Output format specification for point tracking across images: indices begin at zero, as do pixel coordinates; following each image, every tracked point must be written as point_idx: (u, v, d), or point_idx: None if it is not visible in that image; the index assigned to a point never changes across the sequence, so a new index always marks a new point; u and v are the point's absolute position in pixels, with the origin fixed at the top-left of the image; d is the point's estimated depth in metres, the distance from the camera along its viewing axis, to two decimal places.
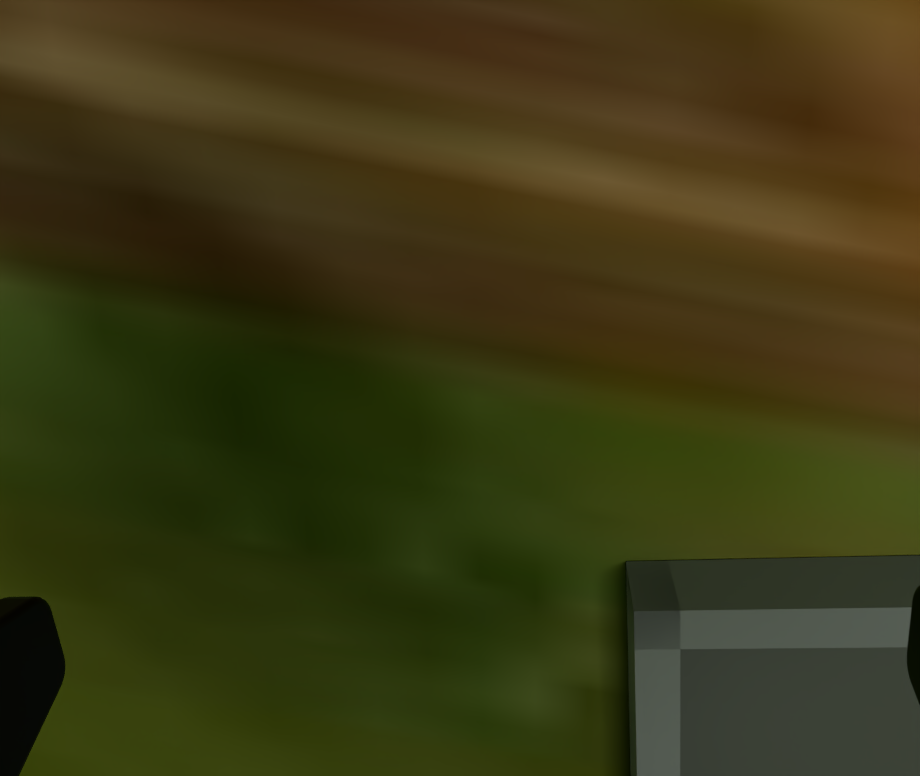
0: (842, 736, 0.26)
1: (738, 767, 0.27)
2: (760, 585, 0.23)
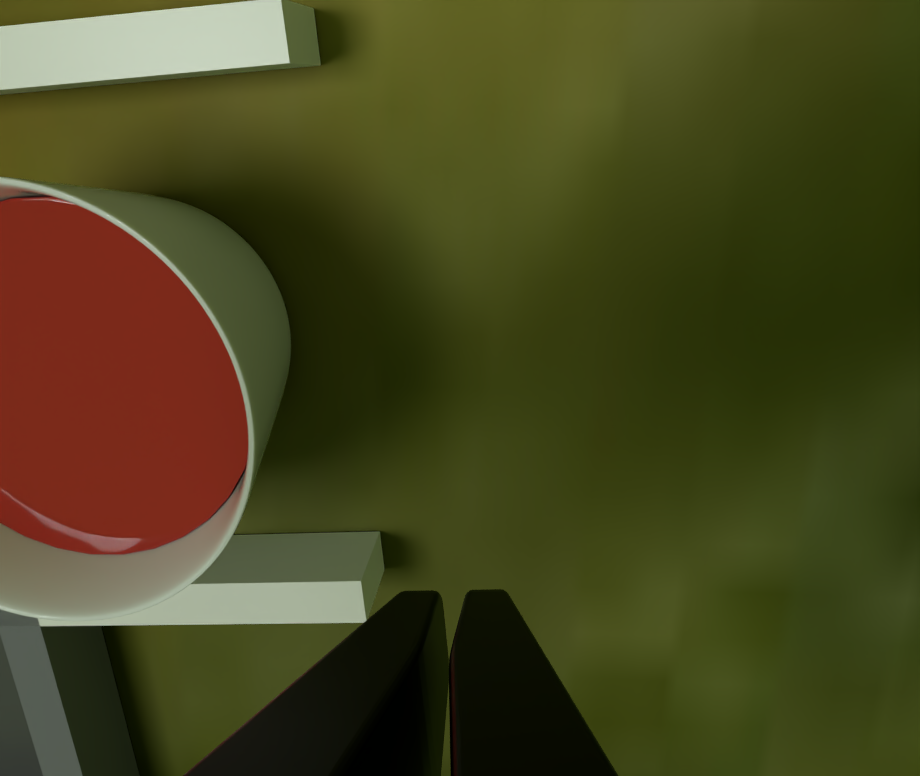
0: None
1: None
2: None
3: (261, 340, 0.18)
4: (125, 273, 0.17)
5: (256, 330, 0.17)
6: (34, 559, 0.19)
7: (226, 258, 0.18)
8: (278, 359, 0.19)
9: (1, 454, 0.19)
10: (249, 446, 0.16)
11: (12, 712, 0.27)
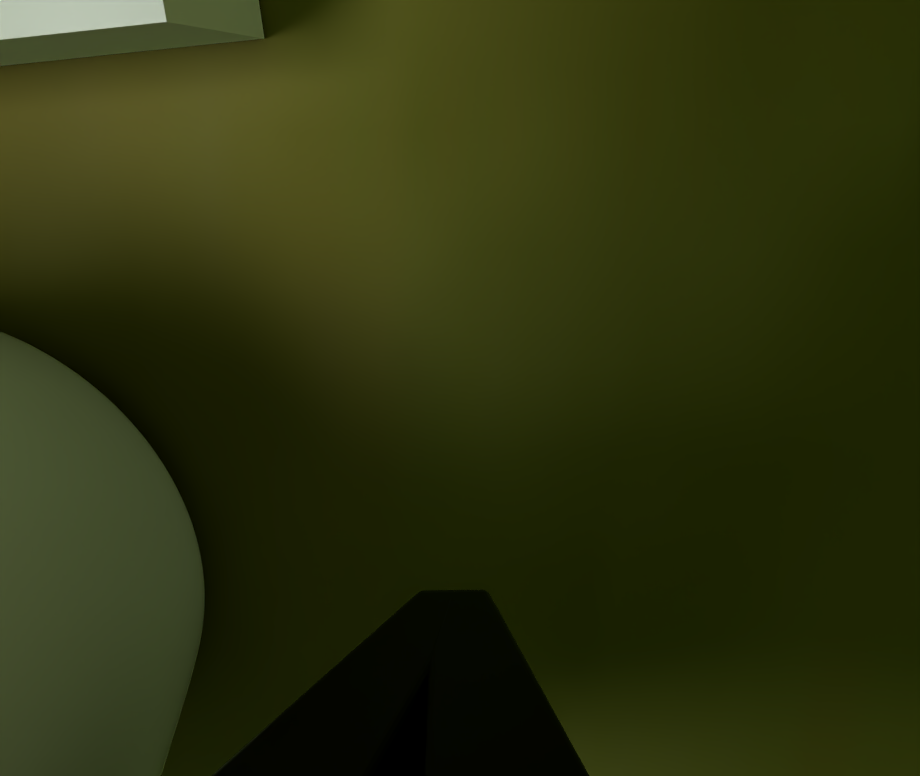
0: None
1: None
2: None
3: (80, 715, 0.07)
4: None
5: (62, 698, 0.07)
6: None
7: (3, 495, 0.07)
8: (150, 693, 0.08)
9: None
10: None
11: None
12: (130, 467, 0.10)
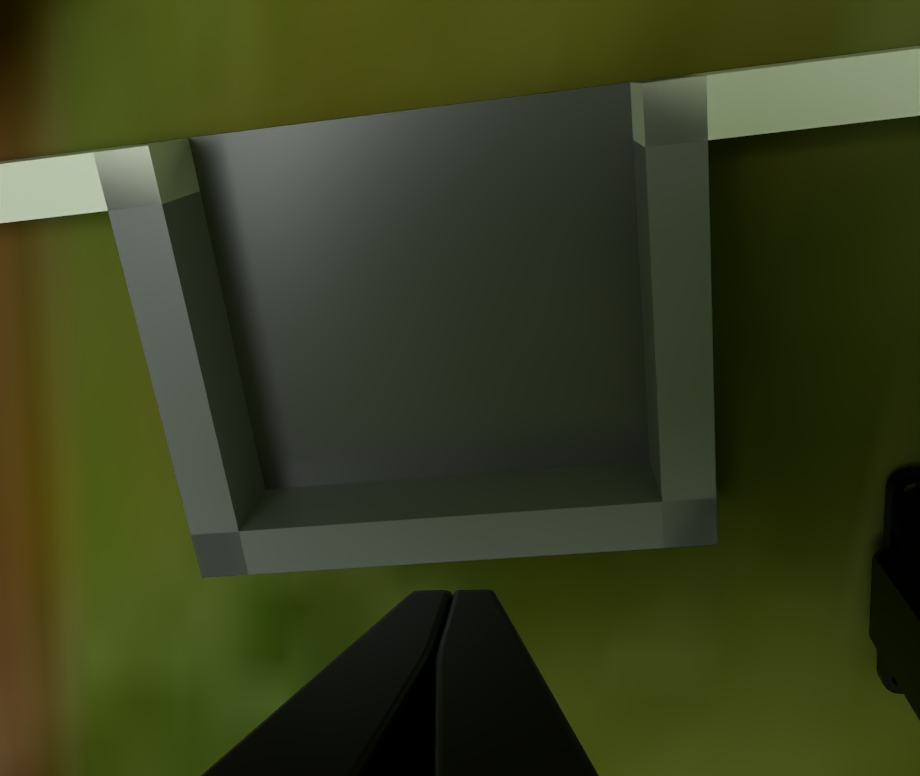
0: (417, 282, 0.20)
1: (482, 397, 0.21)
2: None
3: None
4: None
5: None
6: None
7: None
8: None
9: None
10: None
11: (549, 349, 0.21)
12: None
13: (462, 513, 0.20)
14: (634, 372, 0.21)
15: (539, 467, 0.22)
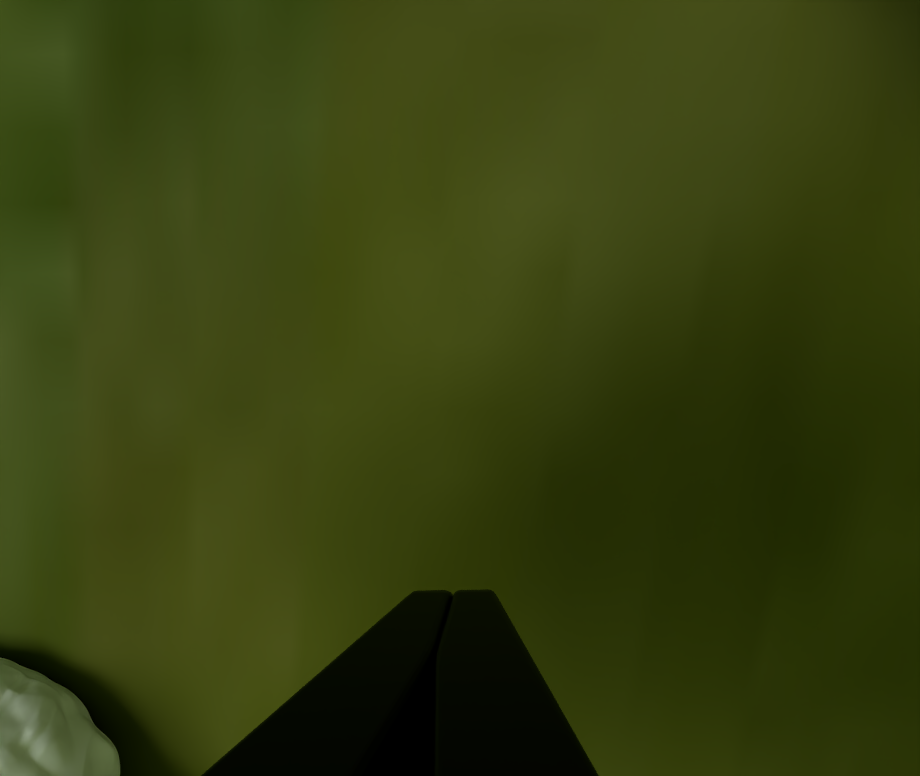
0: None
1: None
2: None
3: None
4: None
5: None
6: None
7: None
8: None
9: None
10: None
11: None
12: None
13: None
14: None
15: None
